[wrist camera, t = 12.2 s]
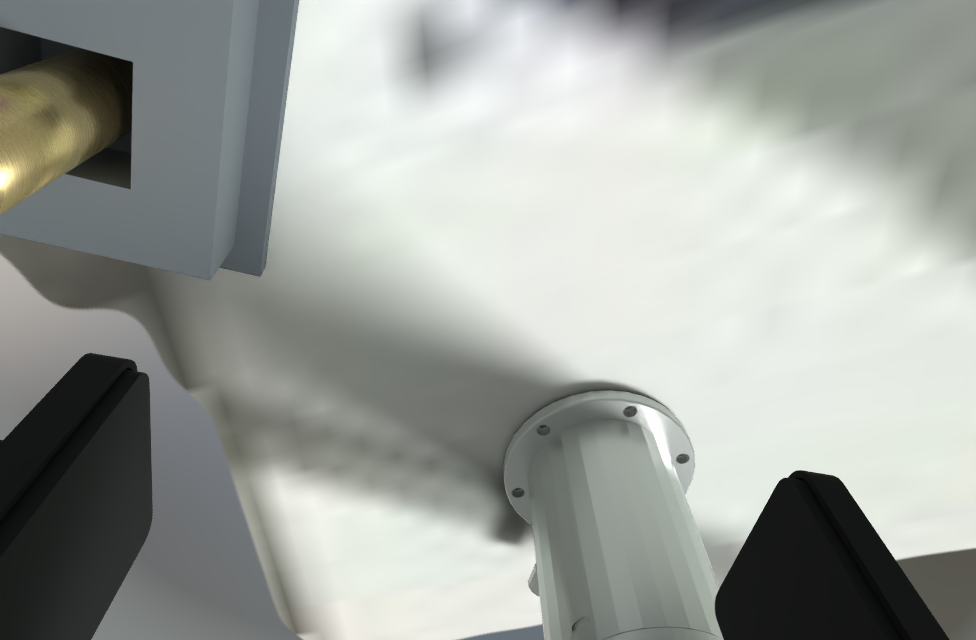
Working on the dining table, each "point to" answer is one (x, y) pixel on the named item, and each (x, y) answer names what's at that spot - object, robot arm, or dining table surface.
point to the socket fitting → (167, 130)
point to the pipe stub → (59, 118)
